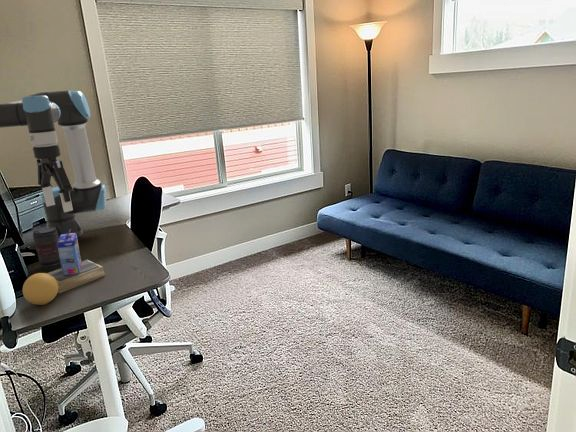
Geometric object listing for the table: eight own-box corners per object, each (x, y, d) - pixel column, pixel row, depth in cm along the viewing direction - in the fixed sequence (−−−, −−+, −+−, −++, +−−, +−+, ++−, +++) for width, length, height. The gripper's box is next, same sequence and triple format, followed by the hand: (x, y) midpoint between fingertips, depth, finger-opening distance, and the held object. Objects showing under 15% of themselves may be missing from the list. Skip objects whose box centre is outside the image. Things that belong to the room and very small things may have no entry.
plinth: (44, 284, 154) (42, 273, 153) (88, 268, 165) (86, 258, 164) (59, 293, 146) (57, 282, 145) (104, 275, 158) (102, 265, 157)
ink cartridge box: (80, 273, 151) (72, 233, 147) (63, 276, 149) (54, 236, 145) (83, 263, 160) (75, 225, 156) (66, 266, 158) (57, 228, 154)
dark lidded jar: (48, 272, 164) (39, 234, 160) (36, 268, 169) (27, 231, 164) (68, 264, 171) (60, 227, 167) (56, 260, 175) (48, 225, 171)
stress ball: (49, 312, 136) (69, 283, 140) (20, 297, 130) (41, 268, 134) (40, 307, 143) (59, 280, 147) (11, 293, 137) (32, 265, 141)
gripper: (18, 145, 147) (32, 205, 153) (49, 149, 131) (64, 216, 138) (41, 141, 152) (54, 200, 159) (74, 145, 137) (87, 210, 143)
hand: (59, 208), depth 148 cm, fingers open, 13 cm apart
